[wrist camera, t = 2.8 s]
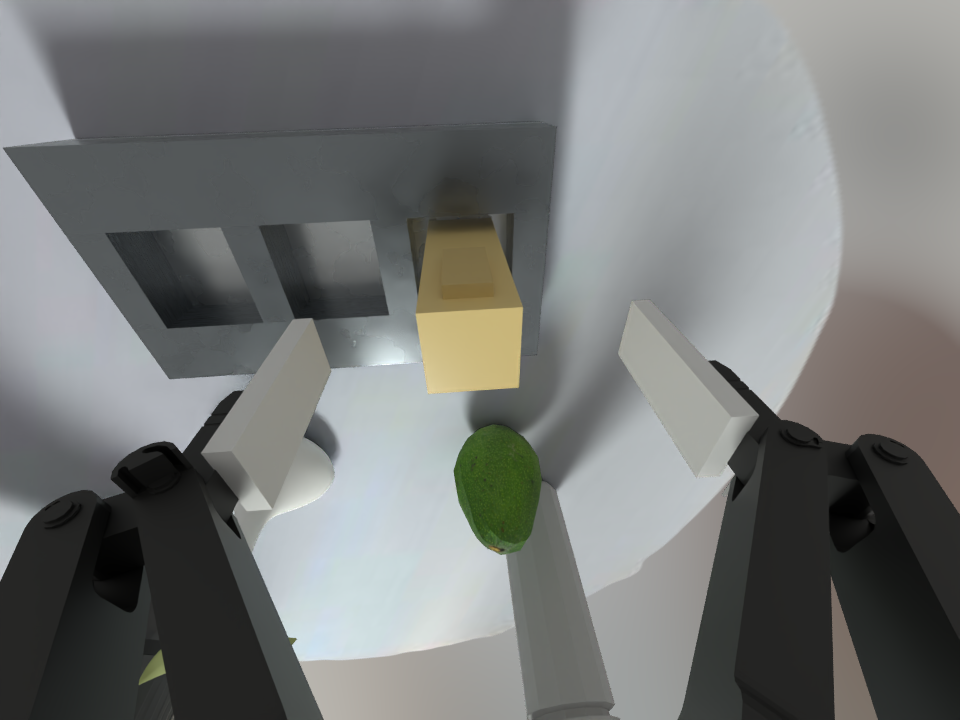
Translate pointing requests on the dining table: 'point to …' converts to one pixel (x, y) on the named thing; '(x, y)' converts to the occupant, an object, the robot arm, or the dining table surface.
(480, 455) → the avocado
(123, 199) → the jack panel
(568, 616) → the water bottle
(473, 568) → the dining table surface
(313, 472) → the flower in vase
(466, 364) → the yellow tall block
